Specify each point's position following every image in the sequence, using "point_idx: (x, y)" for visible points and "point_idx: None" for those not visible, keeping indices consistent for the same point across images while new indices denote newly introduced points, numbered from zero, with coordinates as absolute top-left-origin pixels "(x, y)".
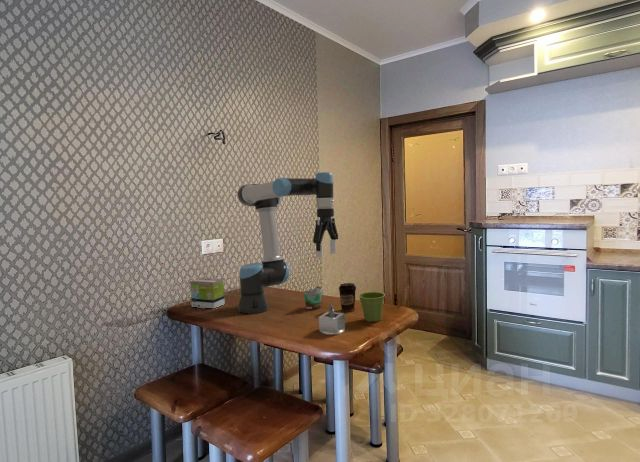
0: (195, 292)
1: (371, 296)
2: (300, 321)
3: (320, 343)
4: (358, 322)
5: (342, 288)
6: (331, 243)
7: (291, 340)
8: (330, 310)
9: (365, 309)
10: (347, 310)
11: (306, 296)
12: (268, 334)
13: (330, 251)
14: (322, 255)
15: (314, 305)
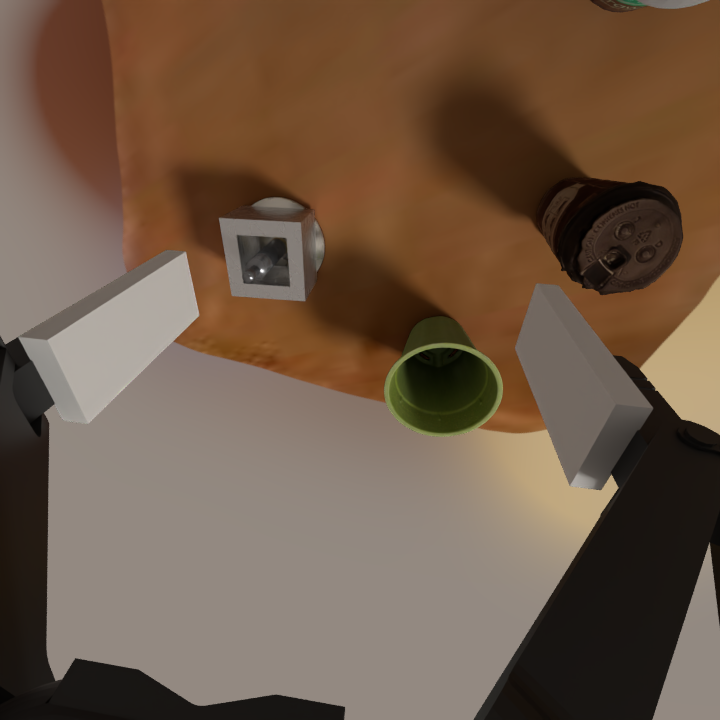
0: None
1: (490, 373)
2: (345, 24)
3: (163, 250)
4: (396, 302)
5: (571, 227)
6: (574, 384)
7: (127, 131)
8: (246, 268)
9: (405, 348)
10: (537, 219)
11: None
12: None
13: (542, 300)
14: (178, 329)
15: None
